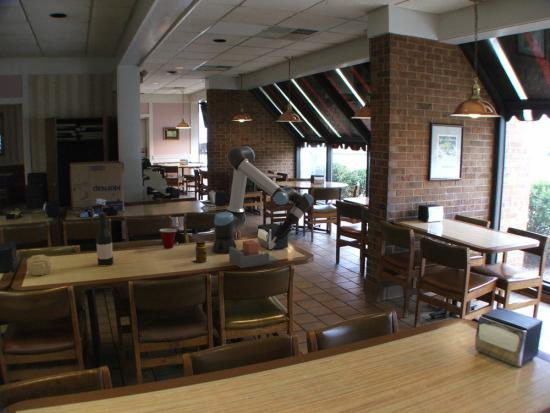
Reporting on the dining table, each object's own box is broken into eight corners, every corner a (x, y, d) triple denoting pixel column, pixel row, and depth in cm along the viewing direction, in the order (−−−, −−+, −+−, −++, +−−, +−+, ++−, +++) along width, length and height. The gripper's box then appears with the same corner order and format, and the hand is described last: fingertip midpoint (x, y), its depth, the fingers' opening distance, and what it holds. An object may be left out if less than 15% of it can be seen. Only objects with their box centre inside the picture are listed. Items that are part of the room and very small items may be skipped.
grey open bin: (229, 261, 280) (228, 247, 279) (265, 255, 292) (265, 241, 290) (241, 268, 267) (240, 253, 265) (278, 261, 279) (278, 247, 277)
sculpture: (27, 279, 250) (25, 259, 248) (28, 272, 261) (26, 252, 259) (51, 276, 255) (49, 256, 253) (51, 269, 265) (50, 250, 263)
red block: (242, 258, 280) (242, 241, 278) (252, 256, 283) (252, 239, 282) (249, 261, 273) (249, 244, 271) (259, 259, 277) (259, 243, 275)
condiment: (209, 262, 279) (208, 242, 276) (195, 264, 274) (195, 244, 272) (203, 259, 285) (203, 239, 282) (190, 261, 280) (189, 241, 278)
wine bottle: (116, 262, 277) (113, 211, 272) (107, 267, 270) (103, 214, 264) (104, 261, 280) (100, 210, 274) (94, 265, 272) (90, 213, 267)
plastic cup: (181, 246, 310) (180, 228, 308) (168, 250, 301) (168, 232, 299) (168, 244, 316) (168, 226, 313) (156, 248, 307) (155, 230, 304)
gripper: (304, 221, 284) (279, 253, 279) (292, 217, 295) (269, 247, 291) (296, 213, 281) (271, 245, 276) (285, 210, 292) (261, 240, 287)
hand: (270, 246), depth 283 cm, fingers closed
